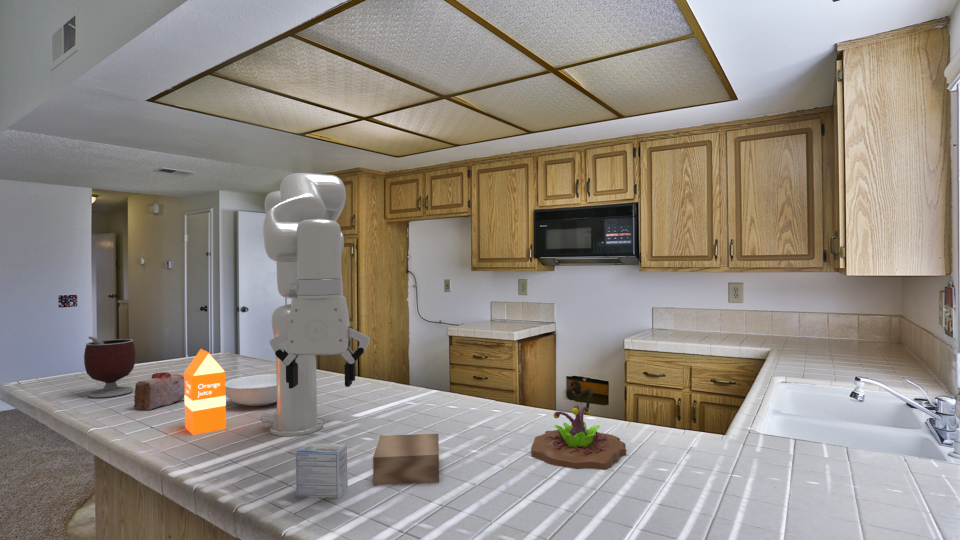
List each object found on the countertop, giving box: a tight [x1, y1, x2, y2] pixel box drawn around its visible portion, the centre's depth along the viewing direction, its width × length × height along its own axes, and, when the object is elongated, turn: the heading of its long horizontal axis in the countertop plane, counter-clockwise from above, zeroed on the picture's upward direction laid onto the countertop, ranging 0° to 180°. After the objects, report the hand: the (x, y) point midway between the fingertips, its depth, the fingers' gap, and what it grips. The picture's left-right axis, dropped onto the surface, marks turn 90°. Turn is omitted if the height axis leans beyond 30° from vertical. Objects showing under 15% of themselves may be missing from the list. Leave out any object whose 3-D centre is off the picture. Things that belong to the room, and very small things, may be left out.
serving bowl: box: [225, 373, 277, 407], centre depth 155 cm, size 21×21×7 cm
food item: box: [133, 372, 185, 411], centre depth 154 cm, size 14×8×10 cm, turn 166°
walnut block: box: [372, 433, 440, 486], centre depth 99 cm, size 12×12×6 cm
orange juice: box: [183, 348, 227, 436], centre depth 130 cm, size 8×9×20 cm
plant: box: [530, 404, 627, 471], centre depth 109 cm, size 20×20×11 cm
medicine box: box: [294, 443, 349, 499], centre depth 90 cm, size 8×4×9 cm, turn 84°
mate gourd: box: [83, 336, 136, 398], centre depth 169 cm, size 16×14×20 cm
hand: (321, 386), depth 90 cm, fingers open, 9 cm apart
